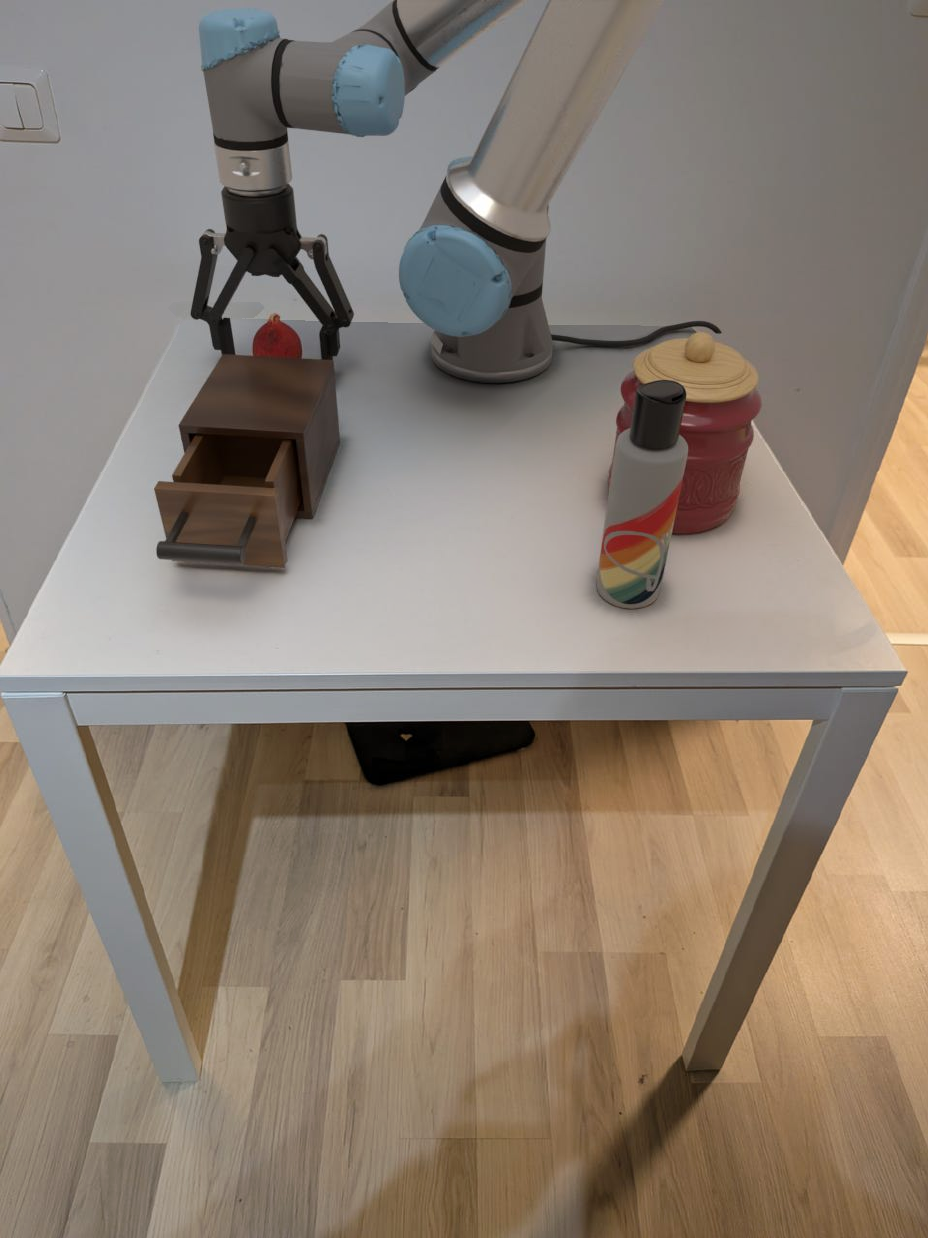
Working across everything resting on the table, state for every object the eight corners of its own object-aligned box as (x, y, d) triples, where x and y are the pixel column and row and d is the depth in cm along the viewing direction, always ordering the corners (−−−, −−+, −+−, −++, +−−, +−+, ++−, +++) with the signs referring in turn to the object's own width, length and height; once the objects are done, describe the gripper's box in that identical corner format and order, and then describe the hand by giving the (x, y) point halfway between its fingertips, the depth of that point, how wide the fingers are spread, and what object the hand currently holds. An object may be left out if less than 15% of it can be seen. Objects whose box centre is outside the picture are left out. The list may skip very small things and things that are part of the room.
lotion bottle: (630, 619, 80) (667, 412, 67) (582, 587, 84) (609, 383, 70) (672, 592, 83) (716, 388, 70) (624, 562, 86) (657, 361, 73)
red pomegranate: (295, 392, 110) (288, 327, 104) (249, 386, 111) (239, 322, 105) (311, 370, 114) (305, 306, 109) (266, 365, 115) (258, 302, 110)
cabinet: (312, 519, 91) (303, 432, 84) (196, 511, 91) (178, 425, 85) (340, 441, 102) (333, 359, 95) (236, 435, 102) (222, 353, 96)
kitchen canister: (752, 489, 96) (796, 325, 84) (707, 553, 88) (748, 381, 76) (637, 452, 101) (663, 292, 89) (583, 509, 93) (604, 341, 81)
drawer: (269, 611, 79) (257, 537, 74) (149, 603, 80) (129, 528, 74) (315, 485, 93) (308, 416, 88) (213, 479, 94) (200, 410, 89)
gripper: (134, 191, 95) (174, 385, 110) (361, 201, 94) (372, 397, 109) (158, 169, 101) (193, 357, 116) (373, 179, 100) (381, 367, 114)
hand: (280, 376), depth 112 cm, fingers open, 11 cm apart
